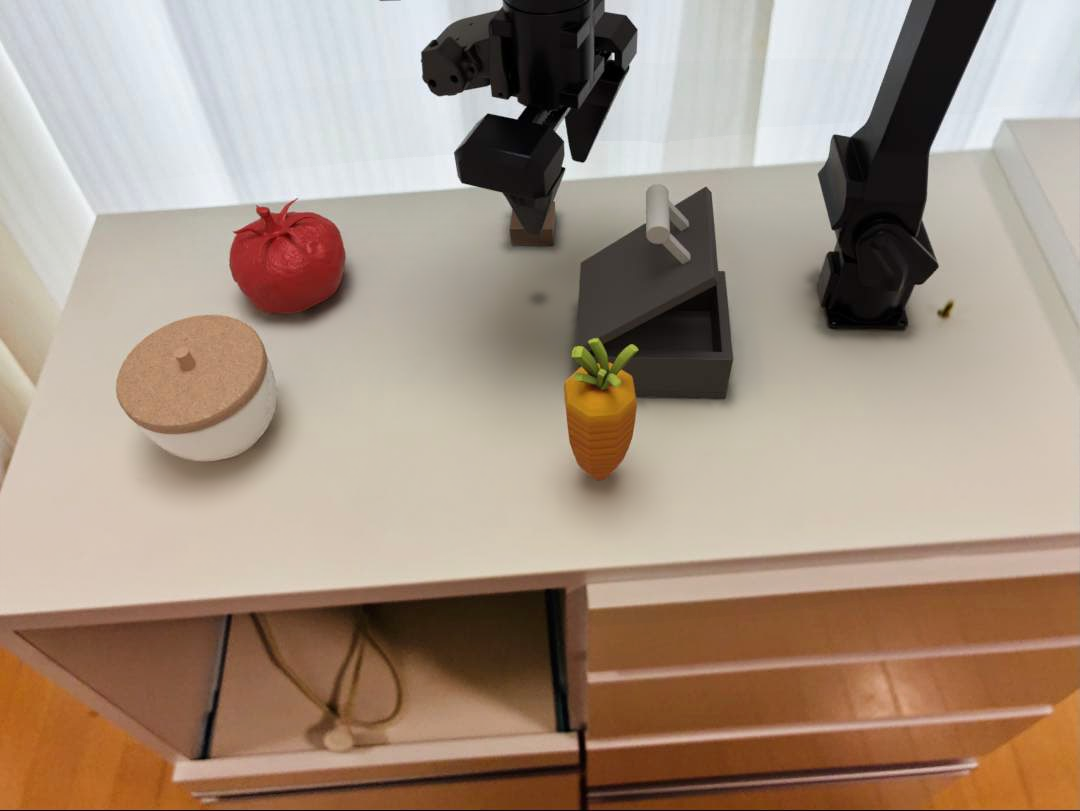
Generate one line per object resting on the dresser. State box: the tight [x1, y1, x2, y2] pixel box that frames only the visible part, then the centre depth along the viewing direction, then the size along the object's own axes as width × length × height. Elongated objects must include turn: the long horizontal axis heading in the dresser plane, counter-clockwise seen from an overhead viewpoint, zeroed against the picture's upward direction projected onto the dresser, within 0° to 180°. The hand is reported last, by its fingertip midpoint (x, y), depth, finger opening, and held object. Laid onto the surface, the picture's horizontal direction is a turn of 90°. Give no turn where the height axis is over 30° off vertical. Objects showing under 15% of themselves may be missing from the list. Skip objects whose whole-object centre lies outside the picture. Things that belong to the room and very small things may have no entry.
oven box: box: [578, 270, 734, 400], centre depth 67 cm, size 12×10×5 cm
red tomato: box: [228, 197, 346, 315], centre depth 72 cm, size 10×10×9 cm
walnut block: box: [509, 200, 557, 246], centre depth 78 cm, size 4×4×2 cm
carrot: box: [563, 338, 639, 481], centre depth 56 cm, size 5×5×15 cm
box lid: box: [575, 183, 719, 352], centre depth 61 cm, size 12×10×5 cm
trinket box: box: [115, 314, 278, 462], centre depth 63 cm, size 11×11×9 cm
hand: (557, 195), depth 63 cm, fingers open, 9 cm apart
